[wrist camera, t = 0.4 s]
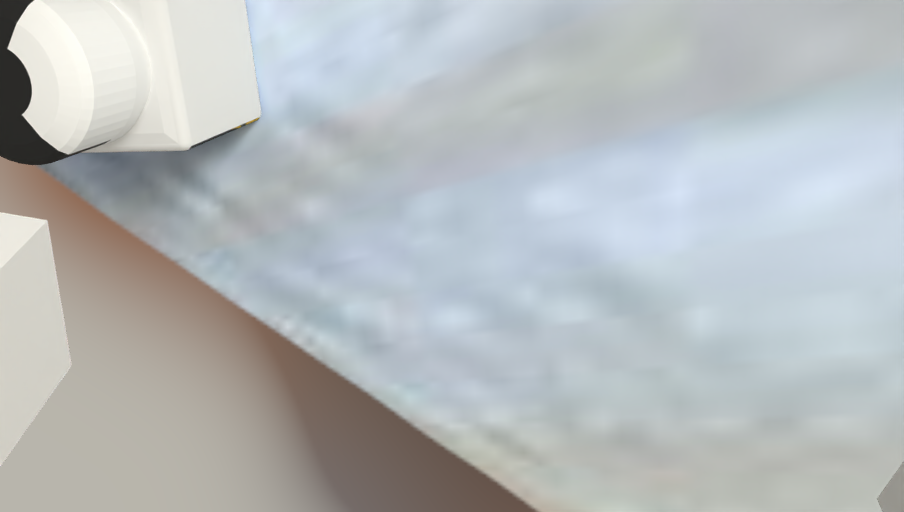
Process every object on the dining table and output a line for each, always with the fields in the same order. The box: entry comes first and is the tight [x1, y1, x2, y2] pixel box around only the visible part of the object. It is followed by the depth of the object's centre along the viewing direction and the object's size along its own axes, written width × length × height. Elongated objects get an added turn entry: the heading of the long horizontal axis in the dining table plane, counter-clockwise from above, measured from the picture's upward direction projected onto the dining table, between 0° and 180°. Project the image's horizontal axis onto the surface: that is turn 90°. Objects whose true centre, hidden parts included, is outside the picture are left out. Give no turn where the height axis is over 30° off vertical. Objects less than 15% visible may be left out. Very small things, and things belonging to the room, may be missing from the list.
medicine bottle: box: [0, 0, 261, 165], centre depth 32 cm, size 7×7×12 cm
